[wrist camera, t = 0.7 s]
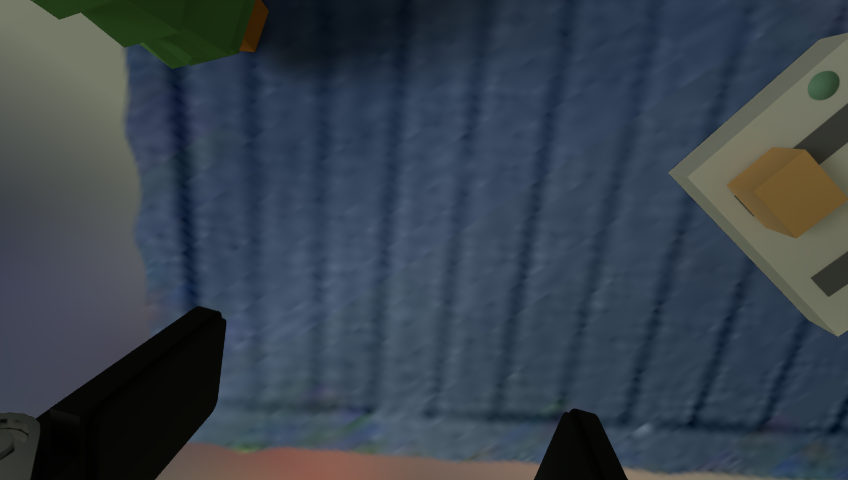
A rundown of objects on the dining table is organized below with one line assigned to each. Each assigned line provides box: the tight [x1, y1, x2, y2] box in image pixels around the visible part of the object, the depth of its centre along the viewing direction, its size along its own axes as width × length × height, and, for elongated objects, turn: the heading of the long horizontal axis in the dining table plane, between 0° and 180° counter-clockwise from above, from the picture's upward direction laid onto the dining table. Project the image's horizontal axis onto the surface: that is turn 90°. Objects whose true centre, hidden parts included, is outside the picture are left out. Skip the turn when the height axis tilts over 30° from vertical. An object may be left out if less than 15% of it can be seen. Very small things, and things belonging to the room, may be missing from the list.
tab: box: [726, 147, 848, 239], centre depth 29 cm, size 4×5×3 cm
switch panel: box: [668, 33, 848, 336], centre depth 32 cm, size 14×20×3 cm
